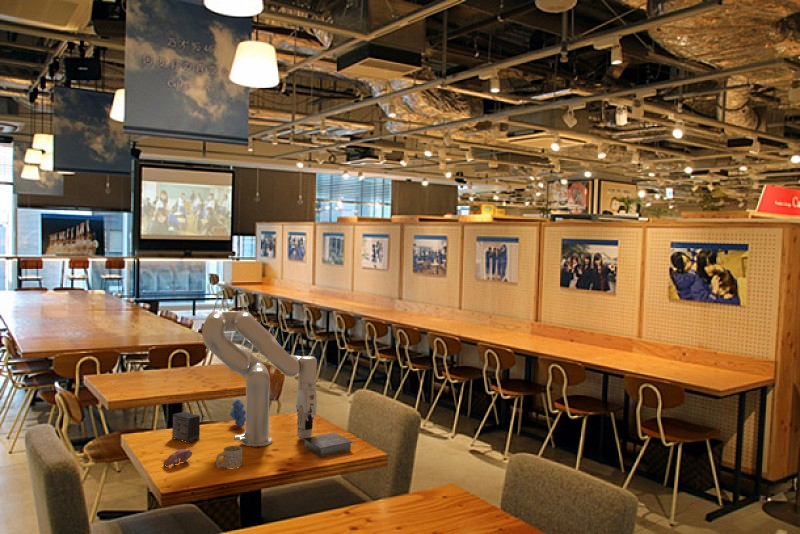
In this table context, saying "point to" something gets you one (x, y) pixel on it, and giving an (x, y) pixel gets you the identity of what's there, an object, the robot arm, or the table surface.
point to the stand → (327, 444)
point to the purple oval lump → (178, 457)
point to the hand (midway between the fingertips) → (304, 426)
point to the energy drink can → (302, 424)
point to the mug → (230, 457)
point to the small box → (186, 426)
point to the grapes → (238, 413)
